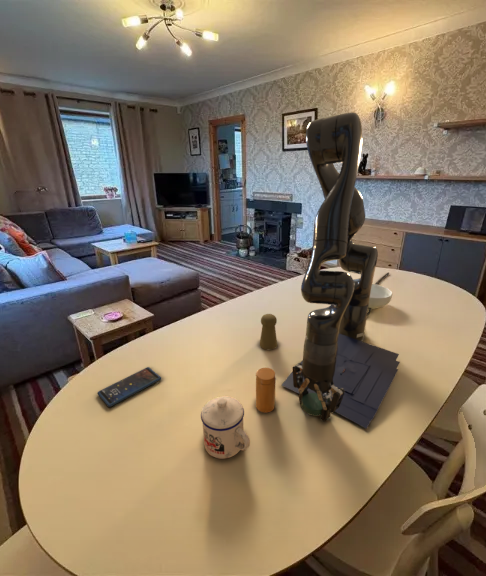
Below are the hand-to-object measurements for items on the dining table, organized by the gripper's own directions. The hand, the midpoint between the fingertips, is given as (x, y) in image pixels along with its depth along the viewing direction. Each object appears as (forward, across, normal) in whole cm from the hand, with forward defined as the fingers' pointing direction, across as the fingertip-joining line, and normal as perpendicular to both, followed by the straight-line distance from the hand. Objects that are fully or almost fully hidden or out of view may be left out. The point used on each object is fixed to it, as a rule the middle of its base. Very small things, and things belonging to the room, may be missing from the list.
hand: (313, 410), depth 76 cm
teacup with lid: (+1, +6, +22) cm, 23 cm away
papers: (0, +2, -17) cm, 17 cm away
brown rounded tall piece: (0, +29, -12) cm, 31 cm away
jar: (0, +9, +8) cm, 12 cm away
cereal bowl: (0, +23, -66) cm, 69 cm away
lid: (-3, 0, 0) cm, 3 cm away
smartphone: (+1, +39, +31) cm, 50 cm away
